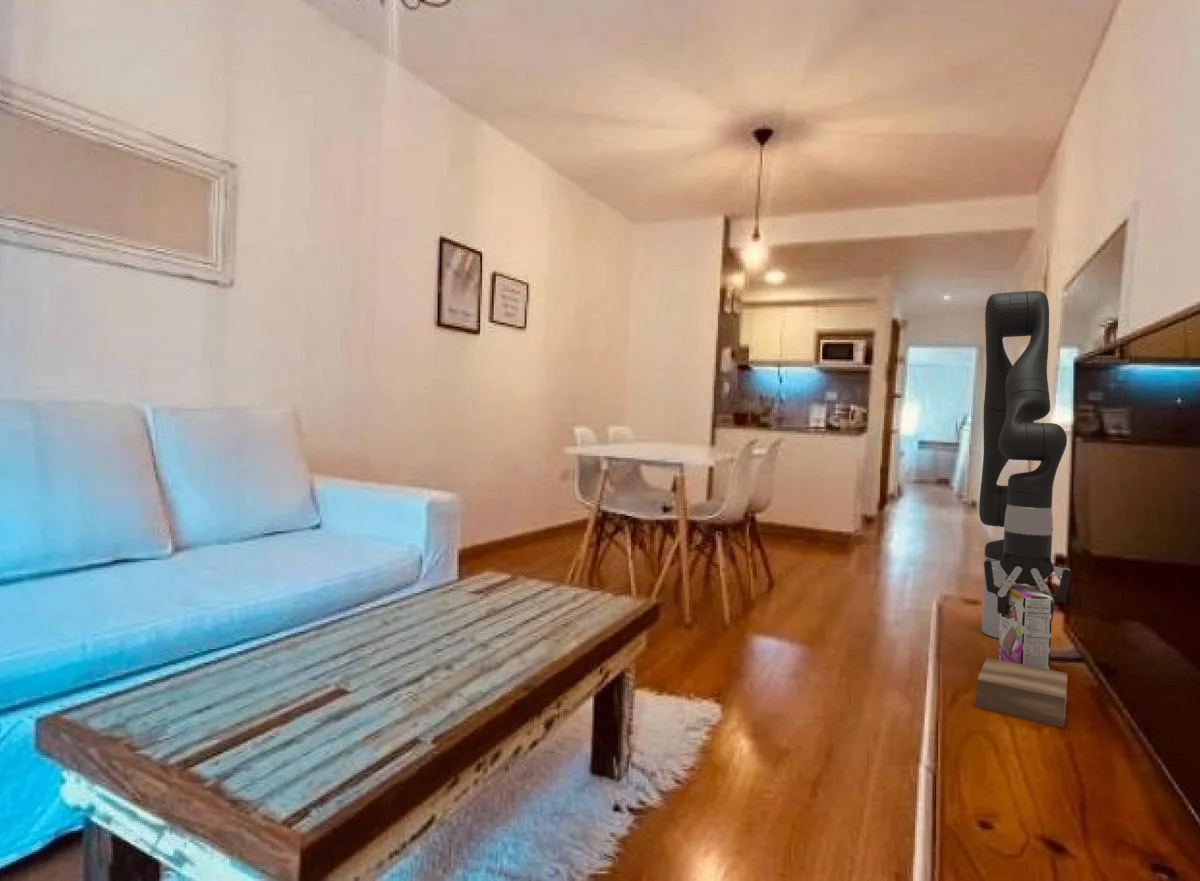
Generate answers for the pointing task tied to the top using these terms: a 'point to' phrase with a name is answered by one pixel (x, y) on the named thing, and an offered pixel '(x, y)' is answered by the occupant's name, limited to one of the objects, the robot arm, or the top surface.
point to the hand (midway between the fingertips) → (1024, 618)
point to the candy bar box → (1026, 627)
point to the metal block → (1023, 691)
